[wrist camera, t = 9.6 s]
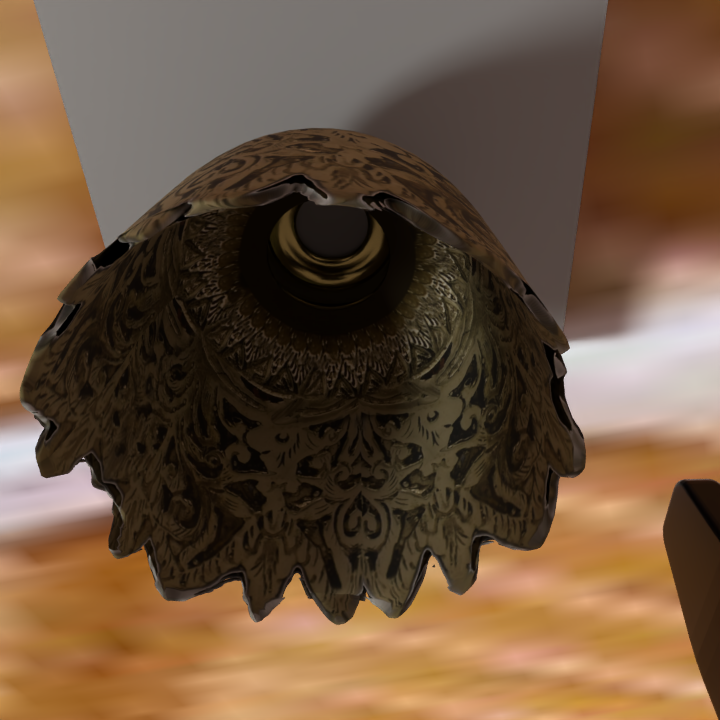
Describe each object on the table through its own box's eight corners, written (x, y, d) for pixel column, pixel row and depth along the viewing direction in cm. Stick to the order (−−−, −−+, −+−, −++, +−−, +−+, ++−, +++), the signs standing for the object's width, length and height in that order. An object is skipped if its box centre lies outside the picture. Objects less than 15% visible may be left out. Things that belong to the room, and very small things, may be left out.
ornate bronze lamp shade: (110, 105, 14) (-109, 293, 8) (459, 0, 13) (550, 115, 7) (240, 382, 18) (168, 660, 12) (515, 321, 17) (606, 592, 11)
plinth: (180, 359, 22) (155, 420, 19) (80, -44, 15) (24, -29, 13) (531, 346, 21) (552, 407, 19) (576, -75, 15) (616, -65, 12)
